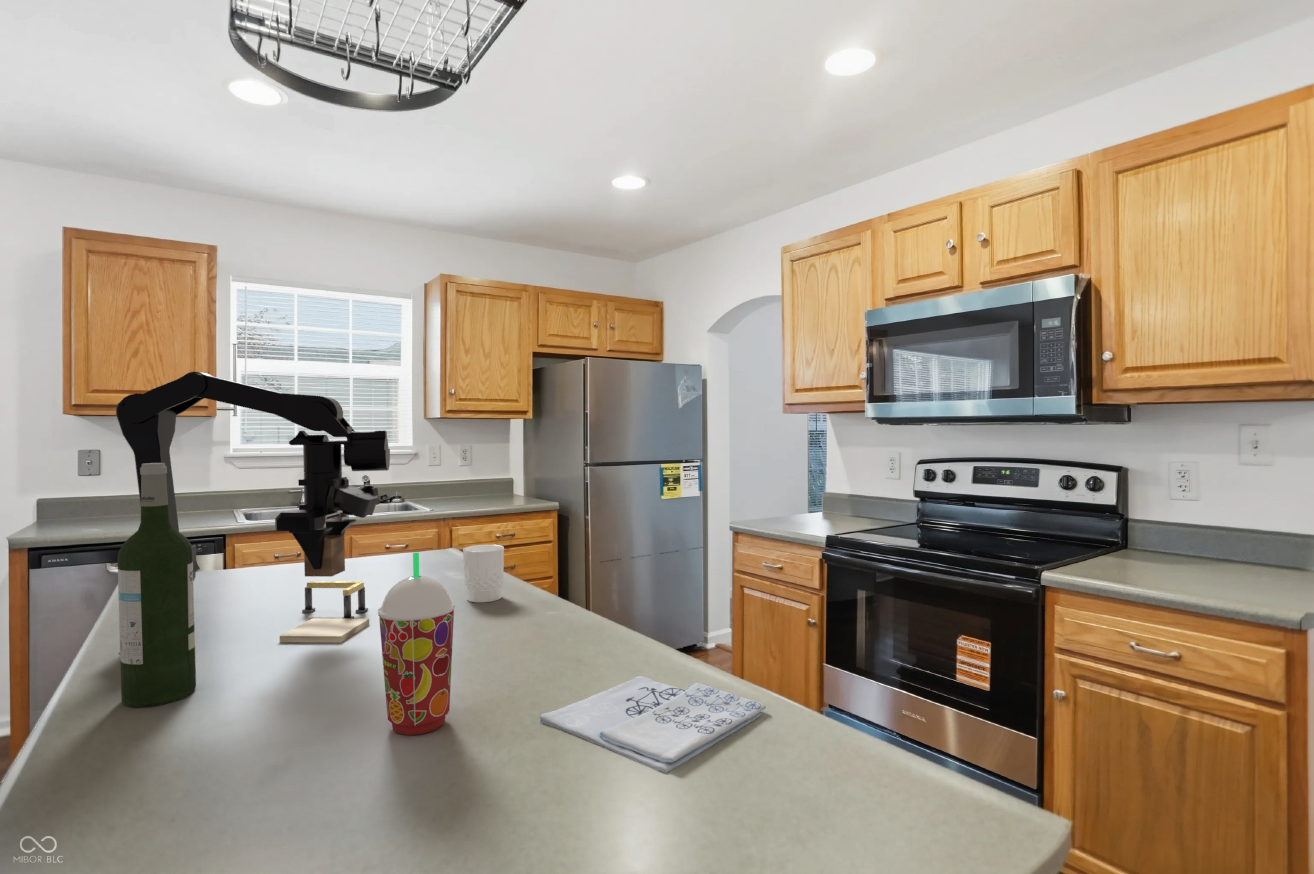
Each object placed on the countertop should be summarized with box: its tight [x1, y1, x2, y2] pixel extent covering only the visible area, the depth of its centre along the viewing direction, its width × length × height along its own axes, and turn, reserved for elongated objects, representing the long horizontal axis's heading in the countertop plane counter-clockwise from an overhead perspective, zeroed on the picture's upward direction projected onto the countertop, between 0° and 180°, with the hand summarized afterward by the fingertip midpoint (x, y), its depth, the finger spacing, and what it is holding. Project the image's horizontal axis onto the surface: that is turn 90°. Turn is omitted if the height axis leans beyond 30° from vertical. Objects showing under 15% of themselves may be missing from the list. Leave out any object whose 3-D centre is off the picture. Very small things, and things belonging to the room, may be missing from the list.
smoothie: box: [377, 551, 456, 736], centre depth 82 cm, size 8×8×20 cm
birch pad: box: [279, 617, 370, 644], centre depth 119 cm, size 10×10×1 cm
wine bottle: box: [116, 463, 197, 708], centre depth 92 cm, size 8×8×30 cm
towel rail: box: [301, 580, 369, 619], centre depth 129 cm, size 7×12×6 cm, turn 88°
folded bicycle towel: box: [538, 675, 767, 774], centre depth 85 cm, size 19×20×2 cm
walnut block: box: [303, 534, 346, 578], centre depth 119 cm, size 4×4×6 cm
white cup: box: [462, 544, 505, 603], centre depth 141 cm, size 8×8×10 cm
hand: (324, 566), depth 119 cm, fingers closed on walnut block, 4 cm apart
